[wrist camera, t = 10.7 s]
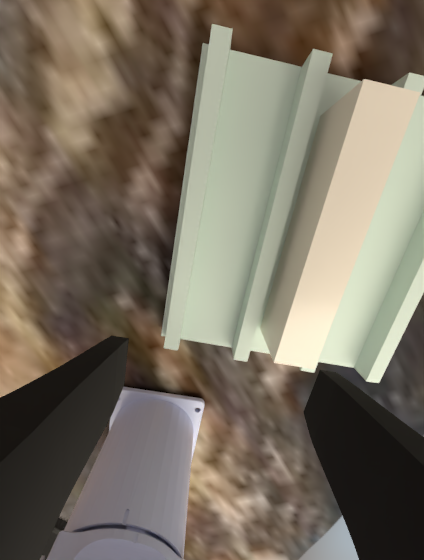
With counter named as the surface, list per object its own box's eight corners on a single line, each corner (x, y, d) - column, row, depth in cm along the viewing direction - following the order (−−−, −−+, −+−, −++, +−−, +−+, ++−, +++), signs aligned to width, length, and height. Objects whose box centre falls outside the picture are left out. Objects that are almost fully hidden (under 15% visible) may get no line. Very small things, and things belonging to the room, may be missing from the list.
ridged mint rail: (363, 362, 19) (385, 384, 17) (163, 329, 19) (156, 347, 16) (474, 119, 14) (527, 101, 12) (203, 54, 13) (201, 21, 11)
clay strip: (291, 334, 18) (314, 369, 14) (260, 328, 17) (273, 362, 14) (361, 125, 13) (420, 92, 10) (320, 115, 13) (364, 78, 10)
